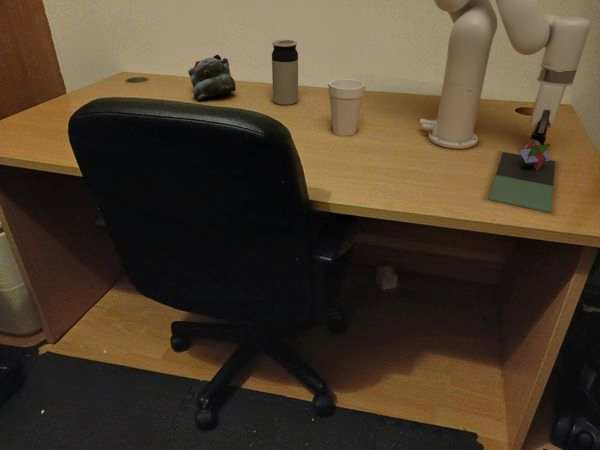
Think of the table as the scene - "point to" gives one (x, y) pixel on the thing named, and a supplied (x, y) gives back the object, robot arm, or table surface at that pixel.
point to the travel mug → (285, 72)
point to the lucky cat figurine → (211, 77)
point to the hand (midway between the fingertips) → (534, 149)
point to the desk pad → (523, 183)
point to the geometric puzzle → (534, 154)
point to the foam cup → (345, 104)
